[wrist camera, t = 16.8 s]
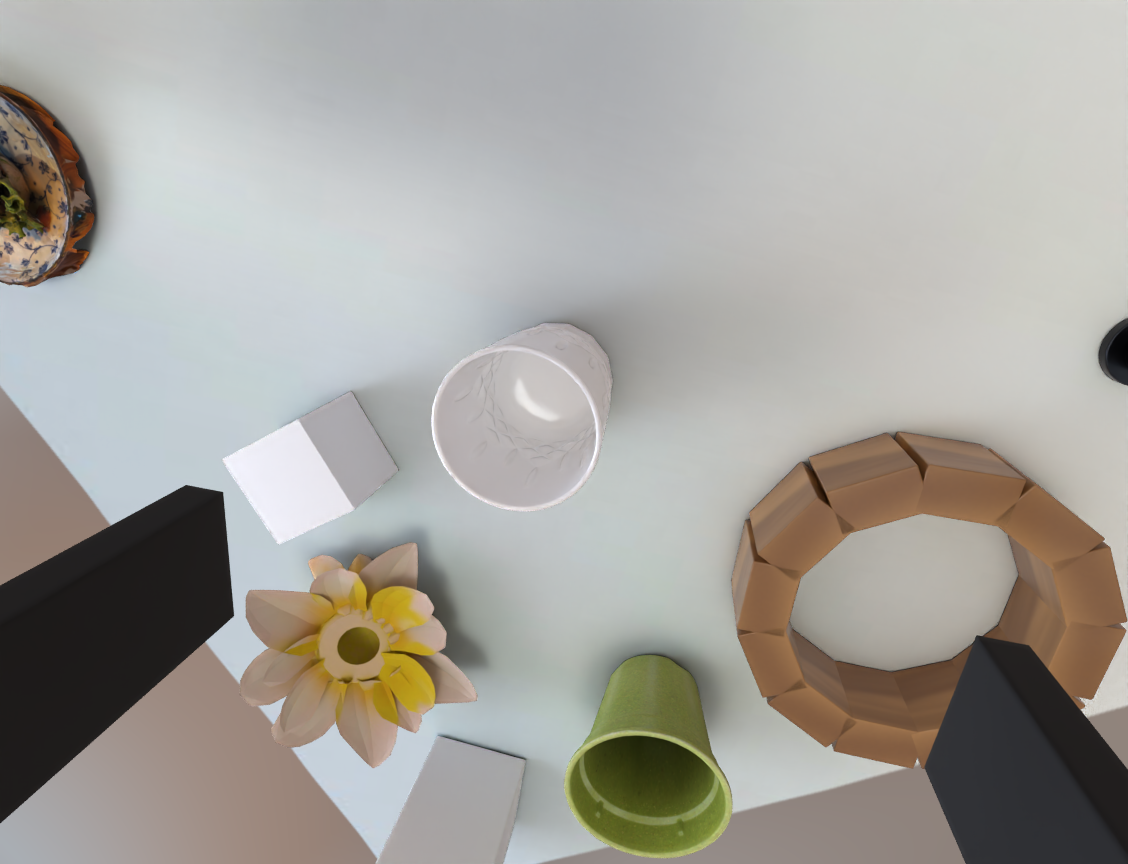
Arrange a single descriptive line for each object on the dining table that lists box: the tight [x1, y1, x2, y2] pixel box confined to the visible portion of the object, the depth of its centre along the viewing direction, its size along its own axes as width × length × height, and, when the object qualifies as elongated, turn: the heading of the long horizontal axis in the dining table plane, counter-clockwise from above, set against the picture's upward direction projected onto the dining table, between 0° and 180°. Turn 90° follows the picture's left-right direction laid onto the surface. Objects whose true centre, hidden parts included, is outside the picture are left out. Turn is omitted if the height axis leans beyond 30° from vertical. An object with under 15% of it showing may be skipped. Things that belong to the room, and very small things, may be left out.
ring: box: [731, 432, 1127, 769], centre depth 36 cm, size 18×18×5 cm
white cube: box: [222, 391, 399, 545], centre depth 39 cm, size 6×6×6 cm
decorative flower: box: [240, 543, 478, 768], centre depth 41 cm, size 15×11×10 cm
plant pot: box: [564, 655, 732, 858], centre depth 40 cm, size 9×9×9 cm
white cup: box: [432, 323, 613, 511], centre depth 33 cm, size 8×8×10 cm
